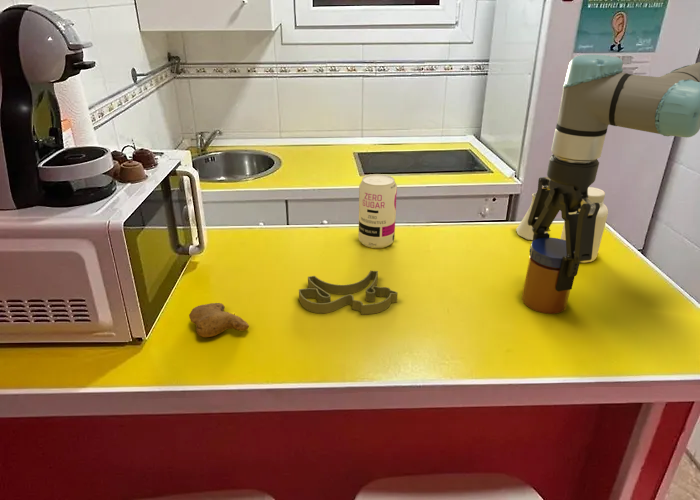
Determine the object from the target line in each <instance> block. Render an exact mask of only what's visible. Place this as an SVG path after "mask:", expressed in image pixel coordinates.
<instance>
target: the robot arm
mask: <svg viewBox="0 0 700 500" xmlns="http://www.w3.org/2000/svg"><path fill="white" fill-rule="evenodd" d="M623 66H624V61H623V60H622V58H620V57H617V56H610V55H605V54H581V55H576V56H574V57H572V59H571V60H570V61H569V64H568V67H567V70H566V75H565V79H564V82H563V85H562V93H561V98H560V103H559V110H558V116H557V120H556V121H557V122H556V126H555V130H554V134H553V137H552V138H553V139H552V144H551V149H550V151H551V153H552V154H551V156H550V157H549V162H548V165H547V172H546V176H543V177H539V178H538V180H537V181H538V183H537V190H536V192H535V193H536V197H535V200H534V203H533V206H532V209H531V212H530V216H529V219H528V225H529V226H532V227H533V228H532V231H533V233H534V234H533V240H531V243H532V242H533V241H534V240H536V239H538V238H546V237H549V238H550V233H549V232H551V229H550V227H551V225H552V224H553V223H554V220H555V219H556V217H557V216H558V215H559V212H561V213H560V214H561V219H562V220H563V222H564V221H565V236H566V253H567V256H564V257H563V258H562V262H561V267H560V271H559V276H558V280H557V284H556V290H557V291H564V290H570V291H571V290H572V289H573V285H574V281H575V277H576V276H577V275H578V273H579V272H578V271H579V268H580V265H581V262H580V261H588V260H591V258H592V250H593V241H594V232H595V223H596V216H597V214H598V211H599V209H600V204H599V203H598V202H597V203H592V202H591V201H590V200H589V199H588V187H591V185H593V183H595V181H596V178H597V174H598V169H599V165H600V162H599V160H598V159H600V158H601V157H602V151H603V147H604V143H605V139H606V135H607V133H608V128H609V126H613V127H620V128H624V129H630V130H636V131H641V132H646V133H652V134H657V135H661V136H663V137H680V138H691V137H694V136H696V135H697V134H698V133H699V131H700V61H698V62H695V63H693V64H687V65H684V66H680V67H678V68H676V69H673V70H672V71H670V72H668V73H666V74H663V75H660V76H650V75H640V74H638V75H637V74H632V73H627V72H623V71H624V69H623ZM576 211H577V213H576V214H569V213H572V212H576ZM535 217H538V219H535ZM544 232H548V233H544ZM574 251H575V252H574Z"/></svg>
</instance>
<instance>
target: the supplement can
mask: <svg viewBox="0 0 700 500" xmlns="http://www.w3.org/2000/svg"><path fill="white" fill-rule="evenodd" d="M397 196H398V185H397V183H396V181H395V178H394V177H393V176H391V175H389V174H388V175H387V174H383V173H382V174H381V173H373V174H368V175H364V176H363V177H362V179H361V181H360V183H359V186H358V235H357V236H358V237H357V238H358V240H359V242H360V243H361V244H362V245H363V246H365V247H367V248H372V249H383V248H386V247H387V248H388V247H389V246H390V245H392V244H393V243H394V242H395V236H396V235H395V233H396V215H397V214H396V213H397Z"/></svg>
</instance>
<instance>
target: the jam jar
mask: <svg viewBox="0 0 700 500" xmlns="http://www.w3.org/2000/svg"><path fill="white" fill-rule="evenodd" d="M559 271H560V268H554V267H549V266H545V265H542V264H540V263H538V262H536V261H535V260H533V259H532V258H531V256H530V255H529V258H528V263H527V267H526V273H525V278H524V284H523V289H522V294H521V301H522V303H523V304H524V305H525V306H526V307H528V308H529V309H531V310H532V311H535V312H538V313H541V314H549V315H554V314H559V313H562V312H564V311H565V310H566V309H567V305H568V302H569V298H570V293H571V290H564V291H557V290H556V284H557V280H558V276H559Z"/></svg>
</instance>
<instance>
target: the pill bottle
mask: <svg viewBox="0 0 700 500" xmlns="http://www.w3.org/2000/svg"><path fill="white" fill-rule="evenodd" d="M605 196H606V192H605V191H604V190H602V189H601V188H597V187H593V186H589V187H588V199H589V200H590V201H591V202H592V203H597V202H598V203H599V204H600V209H599V211H598V214H597V216H596V223H595V232H594V241H593V250H592V258H591V260H588V261H580V263H584V264H585V263H591V262H593V261H595V260H596V259H597V257H598V254H599V251H600V247H601V242H602V238H603V236H604V235H603V234H604V231H605V227H606V223H607V219H608V216H609V210H608V209H609V208H608V206H607V205H606V204H605V203H604V202H605V198H606V197H605ZM576 213H577V211H576V212H572V213H569V214H576ZM560 239H562V240H566V236H565V221H564V220H563V225H562V230H561V235H560Z"/></svg>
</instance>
